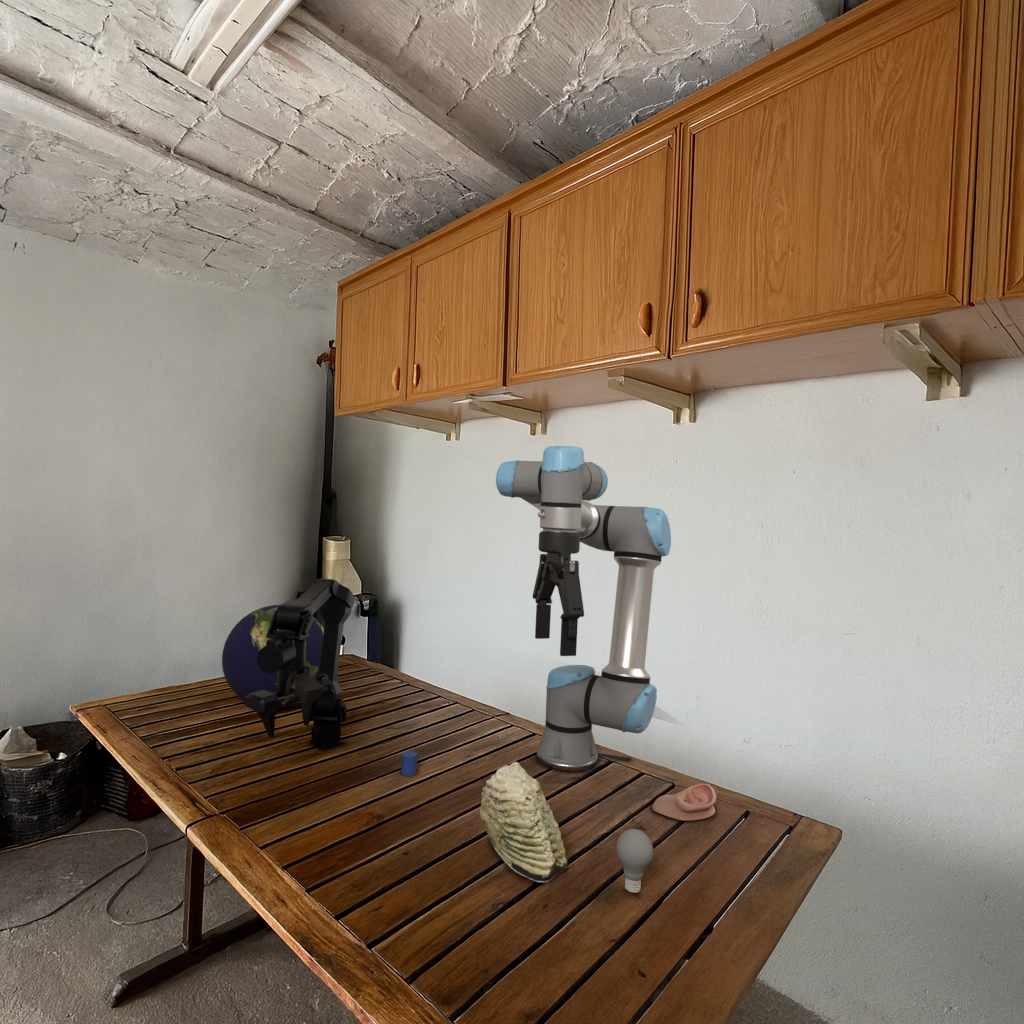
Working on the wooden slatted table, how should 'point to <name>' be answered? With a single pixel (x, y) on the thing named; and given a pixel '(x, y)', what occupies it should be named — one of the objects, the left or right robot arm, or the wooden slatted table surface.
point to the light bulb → (634, 857)
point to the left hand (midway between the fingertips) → (289, 731)
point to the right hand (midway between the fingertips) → (554, 646)
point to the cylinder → (409, 763)
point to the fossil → (522, 824)
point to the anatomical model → (687, 803)
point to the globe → (245, 649)
